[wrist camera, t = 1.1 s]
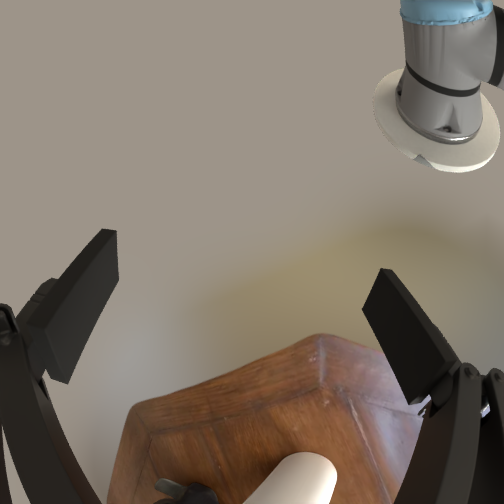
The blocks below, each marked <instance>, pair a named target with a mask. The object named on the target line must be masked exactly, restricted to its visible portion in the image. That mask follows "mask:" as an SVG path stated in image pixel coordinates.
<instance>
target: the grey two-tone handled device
mask: <svg viewBox="0 0 504 504" xmlns="http://www.w3.org/2000/svg"><path fill="white" fill-rule="evenodd" d="M155 489H156V490H158V491H160V492H163V493H165V494H167V495H169V496H172V497H173V498H174V499H170V498H164V499H160V500H158V501H157V502H155V503H154V504H219V502H218V501H217V496H216V494H215V492H214V491H213V490H212V489H210V488H208V487H206V486H203V485H200V484H198V483H192V484H191V485H190V486H187V487H186V486H182V485H181V484H178V483H176V482H174V481H172V480H169V479H165V478H160V479H159V480H158V481H157V482H156V484H155Z"/></svg>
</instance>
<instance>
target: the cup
mask: <svg viewBox="0 0 504 504" xmlns="http://www.w3.org/2000/svg"><path fill="white" fill-rule="evenodd" d="M336 480H337V473H336V469H335V467H334V466H333V464H332V463H331V462H330V461H329V460H328V459H326V458H325V457H323V456H321V455H319V454H316V453H311V452H299V453H295V454H292V455H289V456H287V457H286V458H284V459H283V460H282V461H281V462H280V463H279V464H278V466H277V467H276V468H275V469H274V470H273V471H272V473H271V474H270V475H269V476H268V477H267V478H266V479H265V481H264V482H263V483H262V484H261V485H260V486H259V487H258V488H257V489H256V490H255V491H254V493H253V494H252V495H251V496H250V497H249V498H248V499H247V500H246V501H245V502H244V503H243V504H329V501H330V498H331V495H332V492H333V490H334V487H335V483H336Z"/></svg>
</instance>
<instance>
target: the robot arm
mask: <svg viewBox="0 0 504 504" xmlns="http://www.w3.org/2000/svg"><path fill="white" fill-rule="evenodd" d="M400 15H401V17H402V21H403V30H404V41H405V57H406V66H405V68H404V71H403V73H402V75H401V78H400V80H399V82H398V83H397V84H398V85H397V87H396V92H395V97H396V107H397V110H398V113H399V115H400V116H401V118H402V119H403V121H404V122H405V123H406V124H407V125H408V126H409V127H410V128H411V129H413V130H414V131H415V132H417V133H418V134H420V135H421V136H423V137H425V138H427V139H429V140H432V141H435V142H438V143H442V144H448V145H459V144H464V143H467V142H469V141H471V140H472V139H474V138H475V137H476V136H477V134H478V132H479V130H480V127H481V124H482V120H483V114H482V104H481V96H480V84H481V81H484V82H487V83H489V84H491V85H494V86H496V87H498V88H500V89H502V90H504V9H502V8H499V7H497V6H494V5H493V3H492V1H491V0H401V9H400ZM118 281H119V273H118V257H117V231H116V230H109V229H101V231H99V233H98V234H97V235H96V236H95V237H94V238H93V239H92V240H91V241H90V242H89V243H88V245H87V246H86V247H85V248H84V249H83V250H82V252H81V253H80V254H79V255H78V256H77V257H76V258H75V260H74V261H73V262H72V263H71V264H70V266H69V267H68V268H67V269H66V270H65V272H64V273H63V274H62V275H61V276H60V278H59V279H55V278H51V279H49V280H47V281H46V282H44V283H43V284H41V286H40V287H39V288H38V290H37V291H36V292H35V294H33V296H32V297H31V298H30V301H28V302H27V303H26V305H25V306H24V307H23V309H22V310H21V311H20V313H19V314H18V315H17V317H16V318H15V316H14V314H13V311H12V308H11V307H10V306H8V305H7V304H2V303H1V304H0V504H12V500H11V495H10V490H9V485H8V480H7V474H6V467H5V459H4V450H3V438H2V426H3V430H4V433H5V437H6V440H7V444H8V447H9V450H10V453H11V456H12V459H13V462H14V465H15V467H16V470H17V473H18V475H19V478H20V481H21V483H22V485H23V488H24V490H25V492H26V495H27V497H28V499H29V501H30V503H31V504H102V503H101V501H100V500H99V498H98V497H97V495H96V493H95V492H94V490H93V489H92V487H91V485H90V484H89V482H88V480H87V478H86V477H85V475H84V473H83V471H82V469H81V468H80V466H79V464H78V462H77V460H76V458H75V456H74V454H73V452H72V450H71V448H70V446H69V443H68V441H67V439H66V437H65V435H64V432H63V430H62V428H61V425H60V423H59V420H58V418H57V415H56V413H55V410H54V408H53V405H52V402H51V400H50V397H49V394H48V391H47V388H46V385H45V382H44V380H43V378H42V375H43V373H44V371H45V369H46V370H47V372H48V374H49V376H50V378H51V379H53V380H56V381H59V382H62V383H65V384H68V383H69V381H70V378H71V376H72V373H73V371H74V369H75V366H76V364H77V362H78V360H79V358H80V356H81V353H82V351H83V349H84V347H85V345H86V343H87V341H88V338H89V336H90V334H91V332H92V330H93V328H94V326H95V324H96V322H97V320H98V318H99V316H100V314H101V312H102V311H103V309H104V307H105V305H106V303H107V301H108V299H109V297H110V295H111V293H112V292H113V290H114V288H115V286H116V285H117V283H118ZM362 311H363V313H364V315H365V316H366V318H367V320H368V322H369V324H370V326H371V328H372V330H373V332H374V333H375V336H376V338H377V340H378V342H379V344H380V346H381V348H382V350H383V352H384V354H385V356H386V358H387V360H388V362H389V364H390V366H391V368H392V370H393V372H394V374H395V376H396V379H397V381H398V383H399V385H400V387H401V389H402V391H403V394H404V396H405V398H406V400H407V403H408V405H412V404H417V403H421V402H422V401H423V400H424V399H425V398H426V397H427V396H428V395H430V397H431V400H430V401H429V402H428V403H427V404H426V405H425V406H424V407H423V408H422V409H421V410H420V411H419V413H418V415H420V414H421V413H423V412H424V411H425V414H424V415H423V416H422V417H423V418H424V419H423V423H422V426H421V430H420V433H419V437H418V440H417V443H416V447H415V450H414V453H413V456H412V459H411V461H410V464H409V467H408V470H407V472H406V475H405V478H404V480H403V483H402V485H401V488H400V490H399V492H398V495H397V497H396V499H395V501H394V504H504V373H503V372H502V371H501V370H499V369H497V368H493V369H491V370H490V372H489V373H488V374H487V375H486V376H485V375H480V373H479V371H478V370H477V369H476V368H475V367H474V366H473V365H472V364H470V363H461V361H460V360H459V358H458V357H457V355H456V354H455V352H454V351H453V349H452V348H451V346H450V345H449V343H447V340H446V339H445V337H443V335H442V333H441V332H440V331H439V329H438V327H436V326H435V325H434V324H433V323H432V322H431V320H430V319H429V318H428V316H427V315H426V313H425V312H424V311H423V309H422V308H421V307H420V305H419V304H418V303H417V301H416V300H415V299H414V297H413V296H412V295H411V293H410V292H409V291H408V289H407V288H406V287H405V286H404V284H403V283H402V282H401V281H400V279H399V278H398V277H397V275H396V274H395V273H394V272H393V271H392V270H390V269H383V268H381V269H380V271H379V273H378V276H377V278H376V280H375V282H374V285H373V287H372V289H371V291H370V293H369V295H368V298H367V300H366V302H365V304H364V306H363V308H362ZM488 406H490V412H489V413H488V414H487V415H485V416H484V417H483V418H482V414H481V413H482V412H483V411H484V410H485V409H487V408H488Z"/></svg>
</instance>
